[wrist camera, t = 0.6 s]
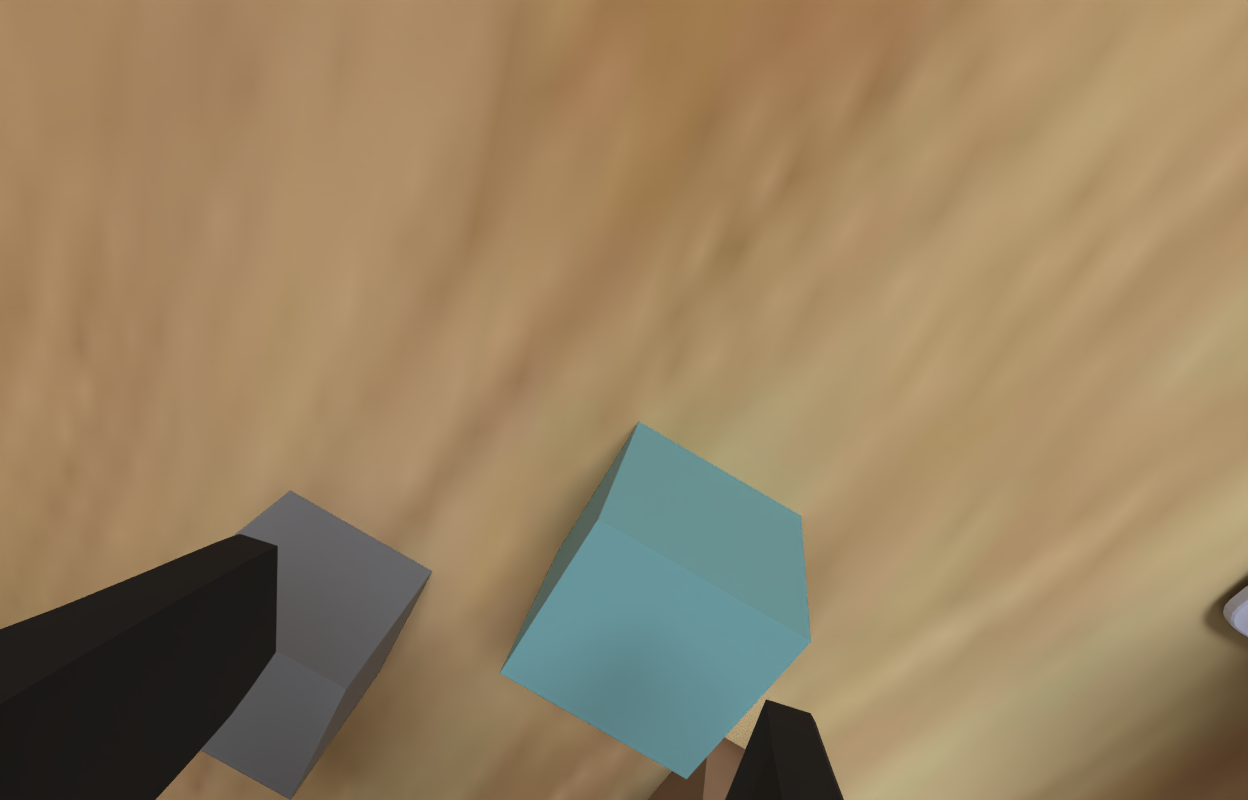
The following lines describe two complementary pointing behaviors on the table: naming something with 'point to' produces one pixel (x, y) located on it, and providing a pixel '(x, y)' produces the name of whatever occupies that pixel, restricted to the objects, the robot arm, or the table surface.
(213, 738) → the charcoal block
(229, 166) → the table surface
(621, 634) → the teal block
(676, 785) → the walnut block
